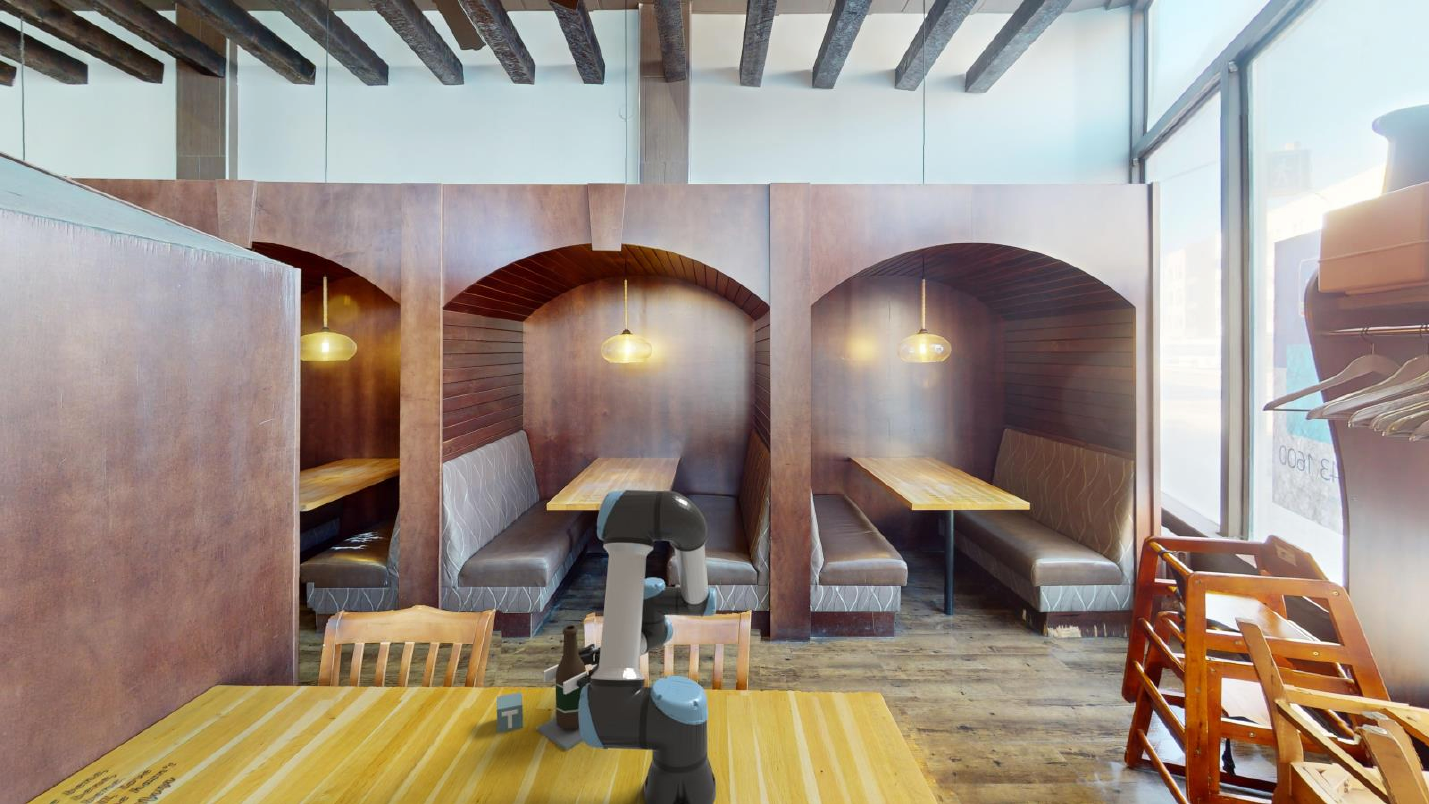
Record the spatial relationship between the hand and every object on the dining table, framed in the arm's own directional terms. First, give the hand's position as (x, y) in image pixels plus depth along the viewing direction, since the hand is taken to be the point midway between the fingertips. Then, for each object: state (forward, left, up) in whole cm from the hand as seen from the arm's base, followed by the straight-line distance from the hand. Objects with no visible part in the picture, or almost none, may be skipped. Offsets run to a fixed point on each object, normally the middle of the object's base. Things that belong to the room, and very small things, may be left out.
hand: (554, 682), depth 142 cm
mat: (0, -5, -14) cm, 15 cm away
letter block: (+14, +4, -14) cm, 20 cm away
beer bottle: (0, -5, -12) cm, 13 cm away
